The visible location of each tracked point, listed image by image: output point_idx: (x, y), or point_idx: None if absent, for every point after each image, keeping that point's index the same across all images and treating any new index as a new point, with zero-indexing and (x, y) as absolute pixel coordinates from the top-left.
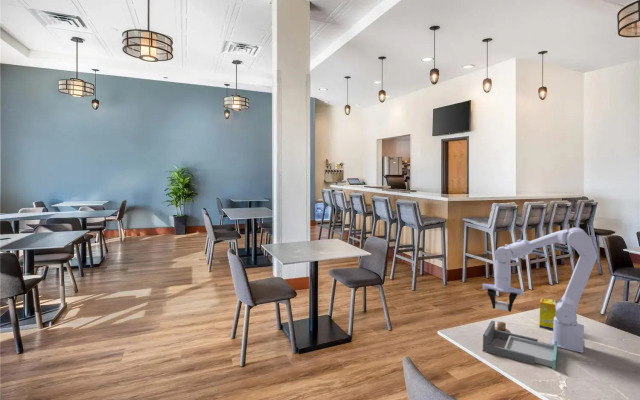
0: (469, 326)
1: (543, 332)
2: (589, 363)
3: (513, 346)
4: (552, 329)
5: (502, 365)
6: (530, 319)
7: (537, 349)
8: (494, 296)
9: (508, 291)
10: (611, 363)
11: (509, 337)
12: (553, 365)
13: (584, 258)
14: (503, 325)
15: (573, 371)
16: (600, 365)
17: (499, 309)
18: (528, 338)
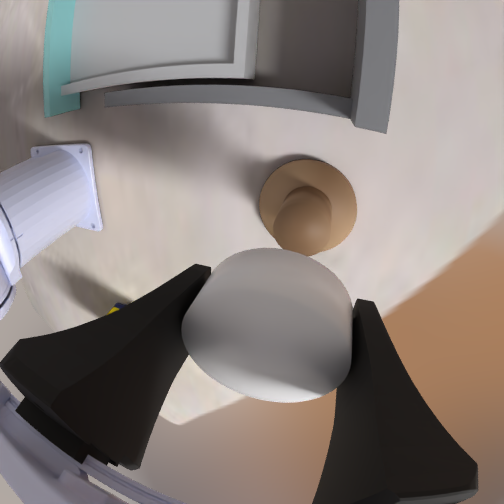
0: (481, 213)
1: (138, 273)
2: (23, 83)
3: None
4: (124, 305)
5: None
6: (200, 368)
7: (116, 26)
8: (350, 445)
9: (36, 479)
10: (3, 128)
11: (242, 40)
12: None
13: None
14: (288, 204)
15: None
16: (11, 93)
17: (303, 257)
18: (140, 88)
